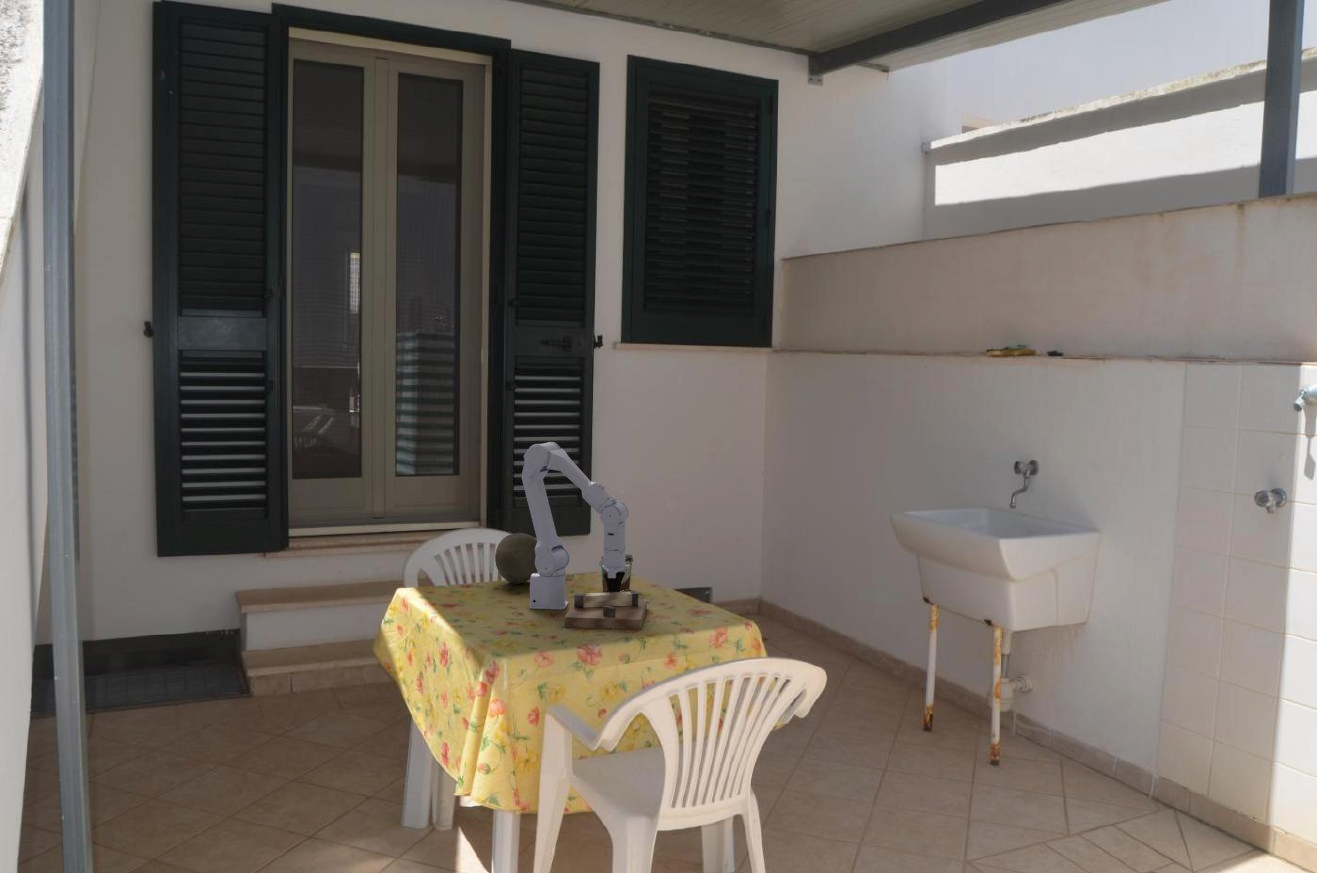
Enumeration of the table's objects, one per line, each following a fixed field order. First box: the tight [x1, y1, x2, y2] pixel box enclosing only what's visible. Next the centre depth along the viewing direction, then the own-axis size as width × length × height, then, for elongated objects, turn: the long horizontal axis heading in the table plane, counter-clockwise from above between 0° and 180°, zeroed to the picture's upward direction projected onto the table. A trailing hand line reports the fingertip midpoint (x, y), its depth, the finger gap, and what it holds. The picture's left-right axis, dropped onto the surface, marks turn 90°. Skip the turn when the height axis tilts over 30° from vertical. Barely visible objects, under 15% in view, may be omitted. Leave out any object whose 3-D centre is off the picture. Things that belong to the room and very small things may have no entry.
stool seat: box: [564, 598, 648, 630], centre depth 275 cm, size 19×22×5 cm
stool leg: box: [573, 590, 639, 608], centre depth 277 cm, size 17×3×3 cm, turn 104°
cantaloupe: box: [494, 532, 539, 585], centre depth 312 cm, size 14×14×15 cm
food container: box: [598, 553, 634, 593], centre depth 306 cm, size 12×6×10 cm, turn 144°
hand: (613, 599), depth 280 cm, fingers closed, pressing on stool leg
